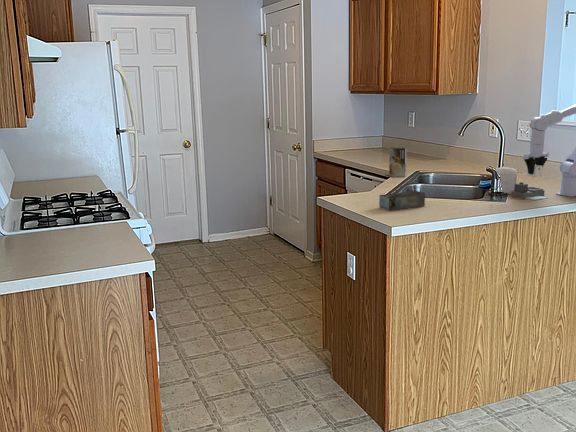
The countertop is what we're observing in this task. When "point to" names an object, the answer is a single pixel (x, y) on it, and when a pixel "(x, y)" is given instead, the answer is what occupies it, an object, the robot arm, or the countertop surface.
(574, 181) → the robot arm
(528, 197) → the pad
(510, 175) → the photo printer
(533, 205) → the countertop surface
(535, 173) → the block
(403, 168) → the coffee box
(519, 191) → the power strip
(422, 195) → the beverage carton
